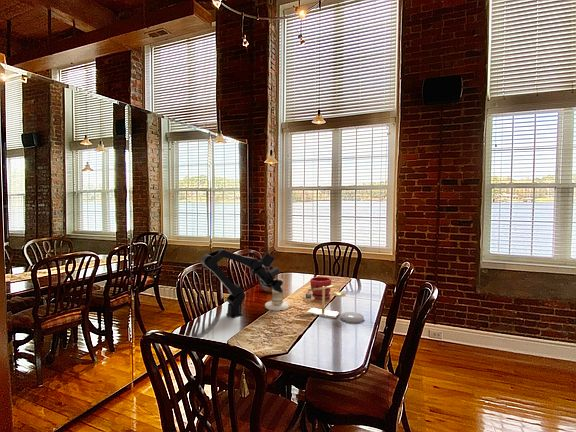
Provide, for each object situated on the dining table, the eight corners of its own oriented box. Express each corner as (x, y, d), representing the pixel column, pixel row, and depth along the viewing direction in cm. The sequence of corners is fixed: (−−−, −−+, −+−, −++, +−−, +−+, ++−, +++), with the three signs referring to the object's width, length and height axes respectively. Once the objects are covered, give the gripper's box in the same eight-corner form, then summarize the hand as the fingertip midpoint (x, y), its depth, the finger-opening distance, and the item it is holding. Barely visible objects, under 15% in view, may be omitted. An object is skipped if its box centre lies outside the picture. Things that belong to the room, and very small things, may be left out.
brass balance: (300, 312, 193) (300, 281, 192) (304, 308, 199) (305, 279, 198) (343, 319, 183) (344, 287, 182) (346, 315, 190) (347, 284, 188)
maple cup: (281, 304, 198) (281, 282, 197) (269, 303, 200) (270, 281, 199) (284, 301, 205) (284, 279, 204) (273, 300, 206) (273, 278, 206)
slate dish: (355, 324, 176) (355, 321, 176) (335, 318, 185) (335, 315, 185) (368, 318, 185) (368, 316, 185) (349, 313, 193) (349, 310, 193)
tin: (260, 290, 236) (260, 278, 236) (263, 289, 239) (263, 277, 239) (280, 293, 229) (280, 280, 229) (282, 292, 232) (282, 279, 232)
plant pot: (330, 294, 228) (330, 276, 227) (331, 300, 215) (331, 281, 214) (310, 293, 229) (310, 275, 229) (309, 299, 216) (310, 280, 216)
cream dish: (276, 312, 193) (276, 310, 193) (260, 306, 203) (260, 304, 202) (294, 307, 203) (294, 304, 202) (277, 301, 212) (277, 299, 212)
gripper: (280, 266, 191) (296, 283, 197) (264, 260, 207) (279, 276, 213) (267, 282, 187) (284, 299, 194) (251, 274, 203) (268, 291, 209)
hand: (279, 290), depth 203 cm, fingers closed on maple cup, 6 cm apart
